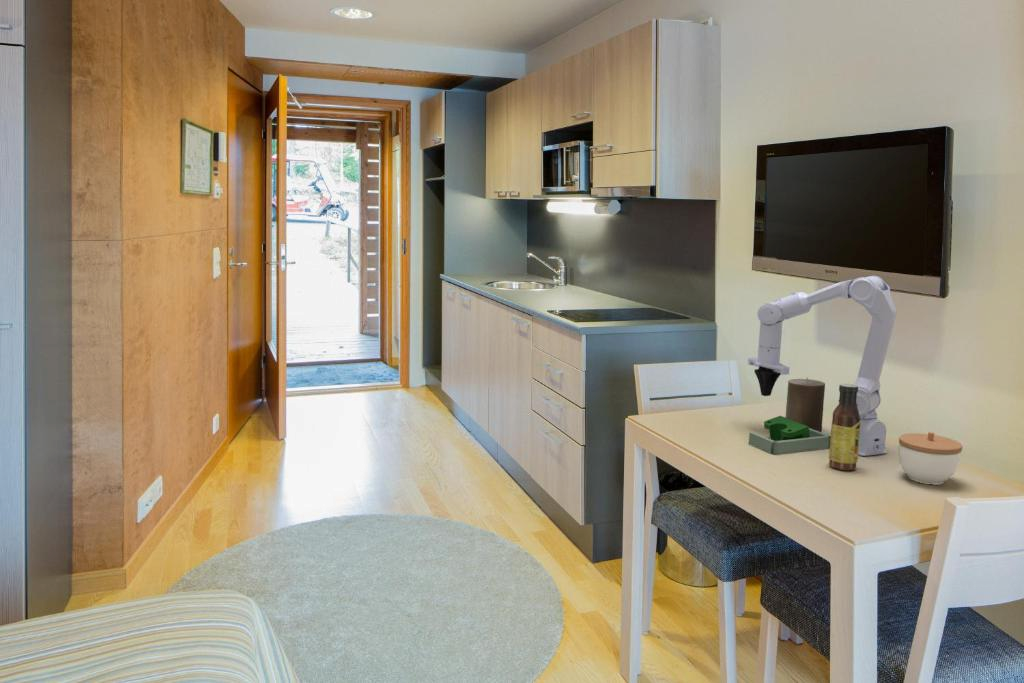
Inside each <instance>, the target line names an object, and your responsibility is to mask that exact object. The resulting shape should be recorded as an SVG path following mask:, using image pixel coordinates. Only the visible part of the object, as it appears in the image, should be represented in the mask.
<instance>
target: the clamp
mask: <svg viewBox="0 0 1024 683" xmlns="http://www.w3.org/2000/svg"><path fill="white" fill-rule="evenodd" d="M785 417H786V416H782V415H779V416H775V417H772V418H770V419H767V420H765V421H763V426H764V429H765V430H767V431H768V432H769V439H771V440H773V441H782V440H791V439H800V438H809V437H810V435H809V427H808V426H806V425H803V424H800V423H798V422H795V421H793V420H790V419H788V418H785Z"/></svg>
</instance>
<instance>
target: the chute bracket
mask: <svg viewBox="0 0 1024 683" xmlns="http://www.w3.org/2000/svg"><path fill="white" fill-rule="evenodd" d="M809 435H810V437H809V438H800V439H791V440H782V439H781V440H775V441H773V440H771V439H770V437H766V436H764V435H761V434H758V433H756V432H755V431H754V432H753V431H751V432H749V434H748V444H749V445H750V444H751V445H750V446H753V447H754V448H757V447H758V449H760V450H761V451H764V452H767V453H768V454H771V455H774V456H775V455H782V454H783V455H784V454H791V453H792V454H793V453H799V452H808V451H817V450H823V449H825V450H826V449H830V438H831V434H830V435H829V434H826V433H825V432H822V431H821V432H819V431H816V430H813V429H811V428H809Z"/></svg>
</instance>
